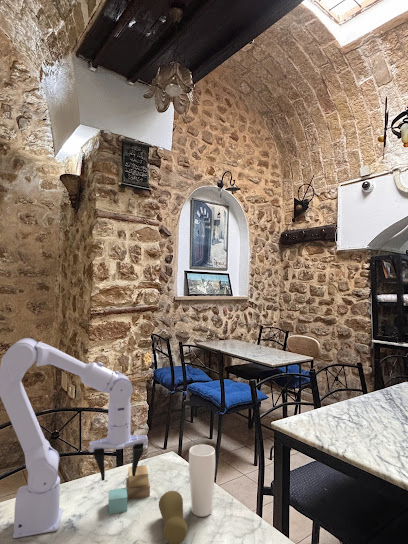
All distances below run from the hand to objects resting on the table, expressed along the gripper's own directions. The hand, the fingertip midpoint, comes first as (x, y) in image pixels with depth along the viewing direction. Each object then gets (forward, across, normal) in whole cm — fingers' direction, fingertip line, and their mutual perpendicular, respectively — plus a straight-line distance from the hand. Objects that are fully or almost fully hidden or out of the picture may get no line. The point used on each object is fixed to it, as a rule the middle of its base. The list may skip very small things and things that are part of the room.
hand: (118, 476), depth 87 cm
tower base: (+8, +6, +5) cm, 11 cm away
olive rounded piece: (+5, +12, -7) cm, 15 cm away
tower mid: (+5, +6, +6) cm, 9 cm away
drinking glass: (+8, +20, -8) cm, 23 cm away
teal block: (+8, 0, 0) cm, 8 cm away
